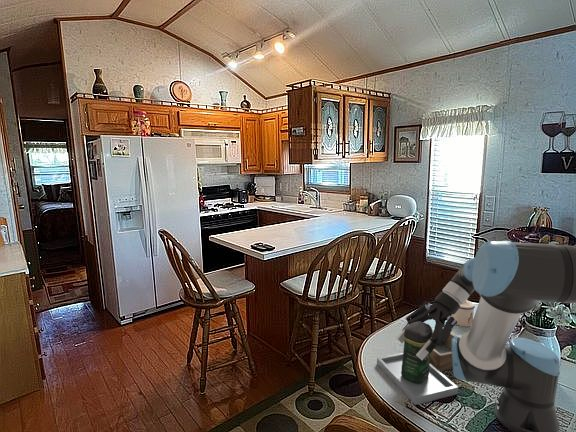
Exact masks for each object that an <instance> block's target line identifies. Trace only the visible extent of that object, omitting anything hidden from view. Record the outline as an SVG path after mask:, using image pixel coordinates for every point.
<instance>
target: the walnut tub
mask: <svg viewBox="0 0 576 432" xmlns="http://www.w3.org/2000/svg"><path fill="white" fill-rule="evenodd" d="M433 332H434V330H432V336H433ZM453 337H458V336H457V335H456V334H454V333H453V332H451V333H450V335H449V337H448V339H447V342H446V344H445V346H446V348H449V349H450V350H451V351H446V352H444V353H440V352H439V351H438V350H436V349H435V348H434V350H433V351H432V352H431V353H430V364H432V365H433V366H434V367H435V368H436V369H438V370H439V371H440V372H442V371H446V370H447V371H448V370H451V369H452V370H453V365H452V349H451V339H452V338H453ZM431 342H432V341H431Z"/></svg>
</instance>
